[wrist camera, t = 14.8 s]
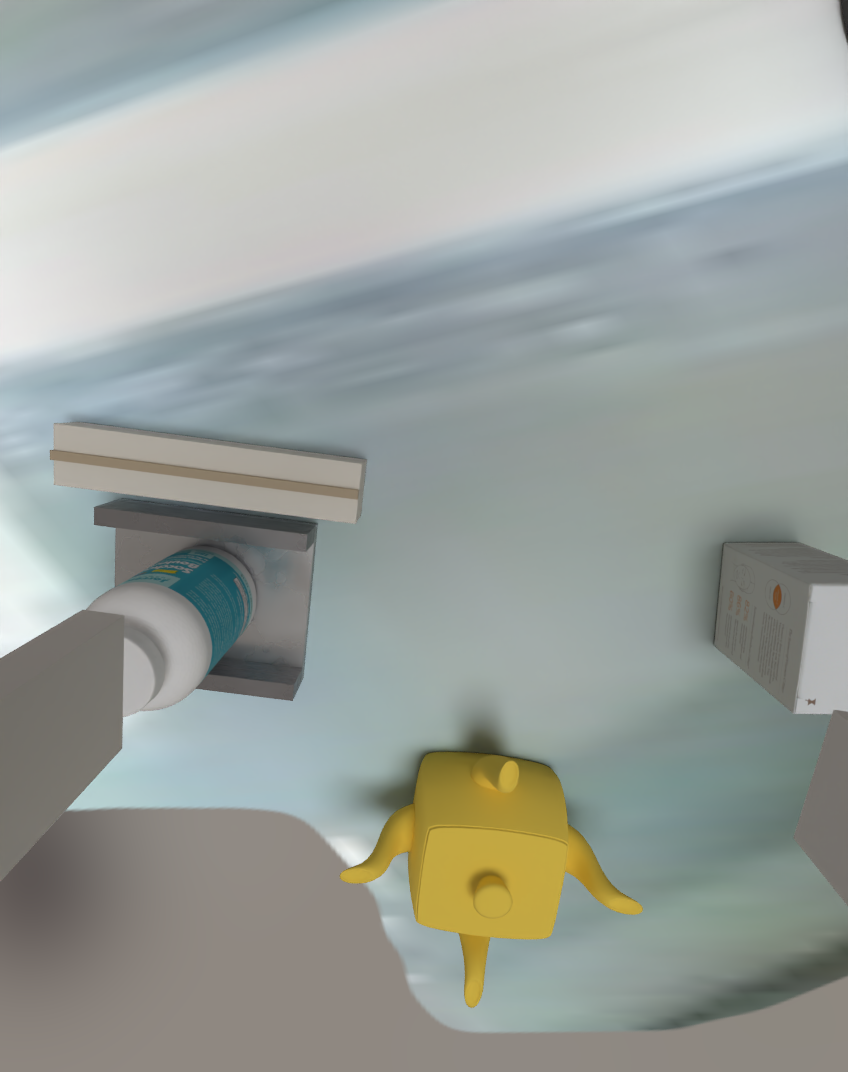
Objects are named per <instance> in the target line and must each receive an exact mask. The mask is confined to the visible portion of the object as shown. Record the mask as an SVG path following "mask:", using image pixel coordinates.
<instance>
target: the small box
mask: <svg viewBox="0 0 848 1072" xmlns="http://www.w3.org/2000/svg"><path fill="white" fill-rule="evenodd" d="M714 646H715V647H716V648H717V649H718V650H720V651H721V652H722V653H723V654H724V655H726V656H727V657H728V658H729V659H730V660H731V661H733V662H734V663H735V664H736V665H737V666H738V667H740V668H741V669H742V670H743V671H744V672H745V673H747V674H748V675H749V676H750V677H751V678H752V679H754V680H755V681H756V682H757V683H758V684H759V685H761V686H762V687H763V688H764V689H765V690H766V691H767V692H769V693H770V694H771V695H772V696H773V697H774V698H776V699H777V700H778V701H779V702H780V703H782V704H783V705H784V706H785V707H786V708H787V709H789V710H790V711H791V712H792V713H793V714H832V713H833V710H840V711H847V712H848V560H845V559H842V558H840V557H837V556H834V555H831V554H829V553H826V552H824V551H821V550H818V549H816V548H813V547H810V546H807V545H805V544H802V543H725V544H724V545H723V558H722V568H721V578H720V589H719V599H718V610H717V621H716V631H715V641H714Z"/></svg>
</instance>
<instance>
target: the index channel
mask: <svg viewBox="0 0 848 1072" xmlns="http://www.w3.org/2000/svg"><path fill="white" fill-rule="evenodd" d="M94 525H99V526H107V527H114V528H116V548H115V587H116V586H118V585H119V584H121V583H123V582H125V581H126V580H128V579H130V578H132V577H133V576H135V575H137V574H139V573H140V572H142V571H144V570H146V569H147V568H149V567H151V566H152V565H154V564H156V563H158V562H159V561H161V560H163V559H165V558H166V557H168V556H170V555H172V554H174V553H176V552H177V551H180V550H182V549H185V548H188V547H194V546H208V547H214V548H218V549H220V550H223V551H225V552H227V553H229V554H231V555H232V556H234V557H235V558H236V559H238V560H239V561H240V562H241V563H242V564H243V565H244V566H245V568H246V569H247V570H248V572H249V574H250V575H251V577H252V580H253V582H254V585H255V589H256V597H257V598H256V609H255V613H254V616H253V618H252V620H251V622H250V624H249V625H248V627H247V628H246V629H245V631H244V632H243V633H242V635H241V636H240V637H239V638H238V639H237V640H236V641H235V643H234V644H233V645H232V646H231V647H230V648H229V650H228V651H227V652H226V653H225V654H224V656H223V657H222V658H221V659H220V660H219V661H218V663H217V664H216V665H215V666H214V667H213V669H212V670H211V671H210V672H209V673H208V675H207V676H206V677H205V678H204V679H203V681H202V682H201V683H200V684H199V685H198V686H197V687H196V689H203V690H211V691H219V692H227V693H235V694H243V695H251V696H259V697H267V698H275V699H282V700H290V701H293V699H294V697H295V695H296V692H297V690H298V688H299V686H300V684H301V682H302V680H303V677H304V666H305V655H306V644H307V634H308V623H309V612H310V601H311V591H312V580H313V569H314V558H315V547H316V537H317V526H318V524H315V523H308V522H300V521H292V520H285V519H277V518H269V517H261V516H254V515H246V514H238V513H231V512H223V511H215V510H207V509H200V508H192V507H184V506H177V505H169V504H161V503H154V502H146V501H138V500H130V499H123V498H122V499H119V500H115V501H112V502H109V503H106V504H102V505H99V506H96V507H94Z"/></svg>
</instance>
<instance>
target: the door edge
mask: <svg viewBox="0 0 848 1072" xmlns="http://www.w3.org/2000/svg"><path fill="white" fill-rule="evenodd" d="M50 460H54V485H60V486H68V487H75V488H83V489H91V490H98V491H106V492H114V493H121V494H129V495H137V496H145V497H152V498H160V499H168V500H175V501H183V502H191V503H198V504H206V505H214V506H222V507H229V508H237V509H245V510H252V511H260V512H268V513H275V514H283V515H291V516H299V517H306V518H314V519H322V520H329V521H337V522H345V523H352V524H356V522H357V521H358V519H359V518H360V516H361V510H362V500H363V491H364V482H365V473H366V463H367V460H366V459H358V458H351V457H343V456H336V455H328V454H320V453H313V452H305V451H297V450H290V449H282V448H275V447H267V446H259V445H252V444H244V443H236V442H229V441H221V440H214V439H206V438H198V437H191V436H183V435H176V434H168V433H160V432H153V431H145V430H137V429H130V428H122V427H115V426H107V425H99V424H92V423H84V422H72V423H54V450H50Z"/></svg>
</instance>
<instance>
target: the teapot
mask: <svg viewBox="0 0 848 1072" xmlns="http://www.w3.org/2000/svg"><path fill="white" fill-rule="evenodd" d="M404 852H408V872H409V884H410V892H411V898H412V904H413V910H414V915H415V919H416V921H417V923H419V924H421V925H424V926H427V927H430V928H435V929H439V930H444V931H450V932H456V933H459V936H460V940H461V945H462V950H463V956H464V965H465V986H464V996H465V1001H466V1004H467V1005H468V1006H469V1007H471V1008H472V1007H475V1006H476V1005H477V1004H478V1003H479V1001H480V998H481V996H482V992H483V985H484V974H485V965H486V958H487V952H488V946H489V941H490V937H496V938H510V939H543V938H547V937H549V936H550V935H551V933H552V930H553V927H554V923H555V919H556V915H557V910H558V905H559V900H560V895H561V890H562V885H563V880H564V875H565V872H567V873H569V874H571V875H573V876H574V877H576V878H577V879H578V880H579V881H580V882H581V883H582V884H583V885H584V886H585V887H586V888H587V890H588V891H589V892H590V893H591V894H592V895H593V896H594V897H595V898H596V899H597V900H598V901H599V902H601V903H602V904H603V905H605V906H606V907H608V908H610V909H611V910H614V911H616V912H619V913H623V914H631V915H634V914H639V913H641V912H642V911H643V908H642V906H641V905H640V904H639V903H638V902H637V901H635V900H633V899H631V898H630V897H628V896H626V895H625V894H623V893H621V892H620V891H619V890H618V889H616V888H615V887H614V886H613V885H612V884H611V882H610V881H609V880H608V879H607V877H606V876H605V874H604V872H603V871H602V869H601V867H600V865H599V863H598V861H597V859H596V857H595V855H594V853H593V851H592V849H591V847H590V846H589V844H588V843H587V841H586V840H585V838H584V837H583V836H582V835H581V834H580V833H579V832H578V831H577V830H576V829H574V828H573V827H571V826H570V825H568V822H567V810H566V803H565V798H564V794H563V789H562V786H561V783H560V780H559V778H558V777H557V775H556V774H555V773H554V772H553V770H552V769H551V768H549V767H548V766H546V765H543V764H540V763H536V762H532V761H528V760H523V759H518V758H512V757H507V756H501V755H494V754H486V753H471V752H432V753H428V754H427V755H425V757H424V759H423V761H422V763H421V766H420V769H419V773H418V778H417V783H416V789H415V794H414V800H413V804H410V805H408V806H405V807H403V808H401V809H399V810H397V811H396V812H395V813H394V814H393V815H392V816H391V817H390V818H389V819H388V821H387V822H386V824H385V825H384V828H383V830H382V832H381V834H380V837H379V839H378V842H377V844H376V847H375V849H374V851H373V852H372V854H371V855H370V856H369V857H368V859H367V860H365V861H364V862H363V863H361V864H359V865H356V866H354V867H351V868H349V869H346V870H345V871H343V872H342V873H341V874H340V879H341V880H343V881H345V882H348V883H367V882H370V881H373V880H375V879H376V878H378V877H380V876H381V875H382V874H383V873H384V872H385V871H386V870H387V868H388V866H389V864H390V862H391V861H392V859H393V858H394V857H395V856H396V855H398V854H401V853H404Z"/></svg>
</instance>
